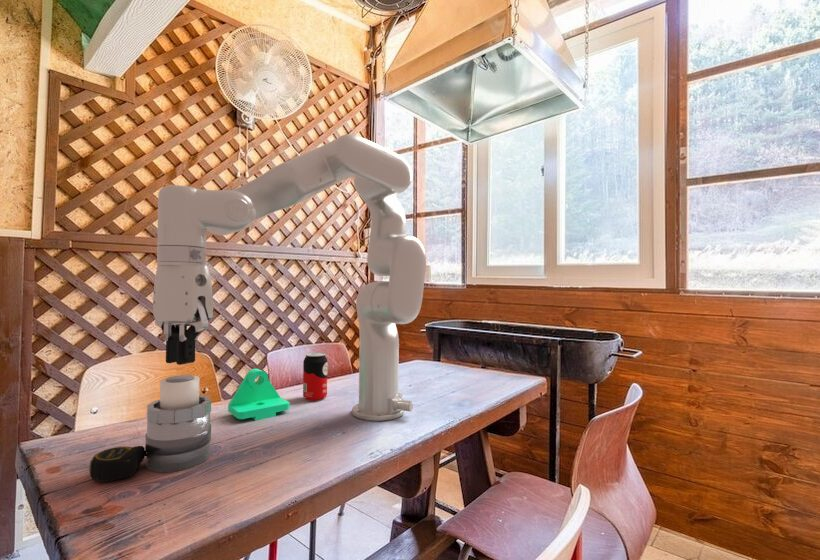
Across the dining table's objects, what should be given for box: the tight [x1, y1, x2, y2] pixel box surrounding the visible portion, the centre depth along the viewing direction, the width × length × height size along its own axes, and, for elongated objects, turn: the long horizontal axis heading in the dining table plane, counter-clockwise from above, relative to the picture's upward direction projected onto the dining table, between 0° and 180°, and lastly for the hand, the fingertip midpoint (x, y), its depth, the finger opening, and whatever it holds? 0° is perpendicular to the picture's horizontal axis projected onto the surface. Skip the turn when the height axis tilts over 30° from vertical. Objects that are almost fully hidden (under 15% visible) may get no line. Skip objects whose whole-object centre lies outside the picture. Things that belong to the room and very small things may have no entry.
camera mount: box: [227, 368, 290, 421], centre depth 96 cm, size 12×8×10 cm, turn 131°
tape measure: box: [89, 445, 147, 482], centre depth 65 cm, size 7×7×4 cm
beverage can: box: [302, 351, 328, 402], centre depth 109 cm, size 6×6×12 cm
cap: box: [159, 374, 200, 410], centre depth 71 cm, size 6×6×6 cm
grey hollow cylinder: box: [144, 394, 212, 473], centre depth 71 cm, size 10×10×10 cm
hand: (180, 361), depth 71 cm, fingers closed
